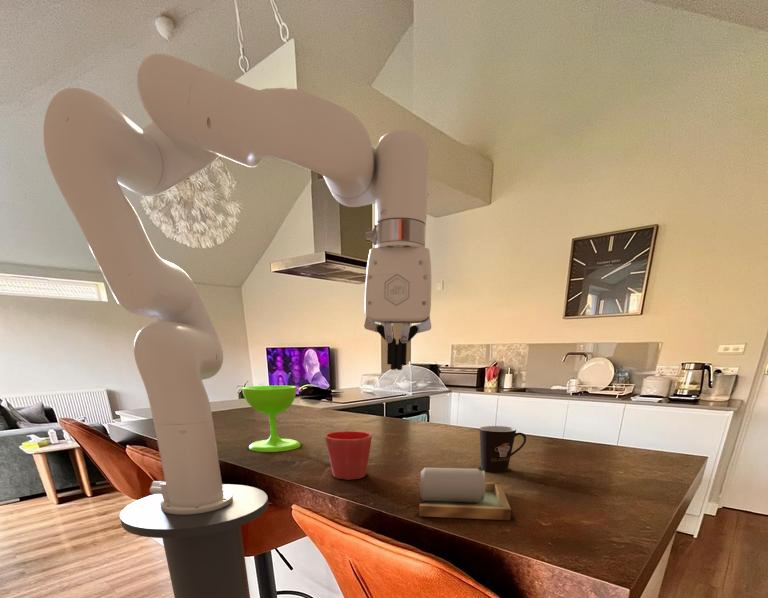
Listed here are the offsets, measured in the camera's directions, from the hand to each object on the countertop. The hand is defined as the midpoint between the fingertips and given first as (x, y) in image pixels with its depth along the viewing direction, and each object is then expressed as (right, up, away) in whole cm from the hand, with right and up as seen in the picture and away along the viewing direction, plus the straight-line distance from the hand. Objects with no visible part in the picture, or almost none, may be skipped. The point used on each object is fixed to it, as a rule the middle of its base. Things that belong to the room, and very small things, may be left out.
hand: (396, 369), depth 69 cm
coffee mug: (+27, -13, +35) cm, 46 cm away
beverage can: (+5, -18, +11) cm, 22 cm away
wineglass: (-37, -3, +64) cm, 73 cm away
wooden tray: (+13, -22, +11) cm, 28 cm away
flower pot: (-10, -15, +31) cm, 36 cm away
